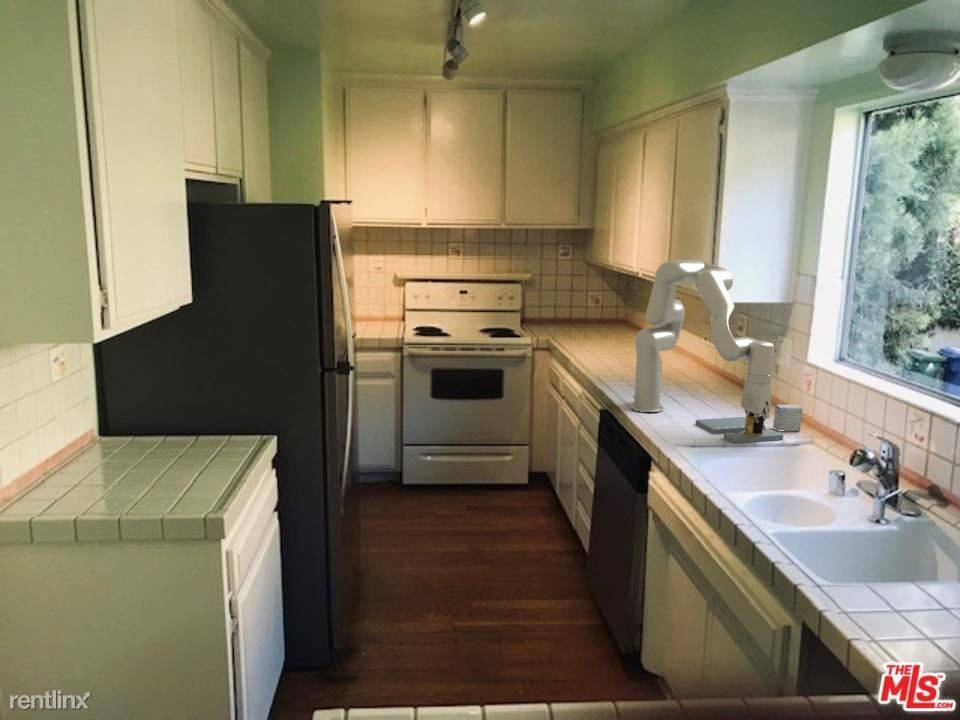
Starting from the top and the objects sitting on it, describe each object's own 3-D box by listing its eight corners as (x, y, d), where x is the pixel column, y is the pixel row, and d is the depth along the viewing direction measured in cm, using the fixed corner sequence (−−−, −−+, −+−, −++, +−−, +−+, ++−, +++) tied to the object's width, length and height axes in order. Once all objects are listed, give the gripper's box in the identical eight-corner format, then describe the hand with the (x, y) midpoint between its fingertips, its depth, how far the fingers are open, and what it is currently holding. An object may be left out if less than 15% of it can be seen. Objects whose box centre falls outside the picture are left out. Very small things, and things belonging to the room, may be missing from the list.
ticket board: (695, 424, 265) (695, 419, 264) (744, 420, 270) (744, 416, 269) (714, 434, 253) (714, 429, 253) (764, 430, 258) (765, 425, 258)
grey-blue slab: (723, 438, 249) (725, 416, 247) (772, 434, 254) (774, 413, 252) (733, 443, 243) (735, 421, 242) (782, 439, 248) (785, 417, 247)
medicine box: (794, 428, 262) (797, 404, 260) (800, 432, 257) (803, 408, 256) (772, 428, 261) (775, 404, 260) (778, 432, 257) (780, 407, 255)
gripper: (734, 373, 251) (729, 425, 255) (764, 384, 235) (759, 440, 239) (753, 372, 253) (749, 424, 257) (784, 383, 237) (779, 438, 241)
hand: (753, 431), depth 248 cm, fingers closed on grey-blue slab, 3 cm apart
